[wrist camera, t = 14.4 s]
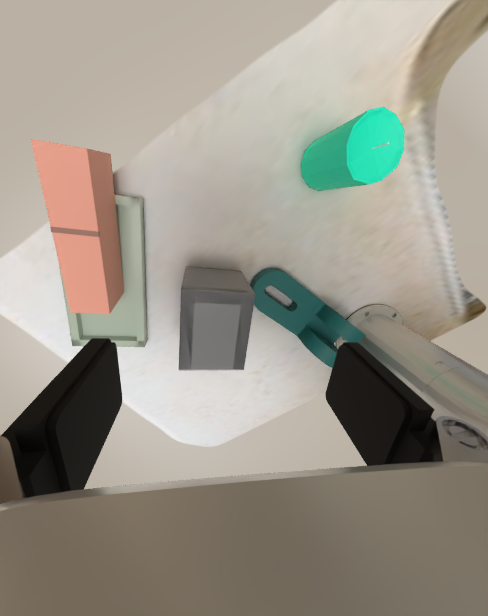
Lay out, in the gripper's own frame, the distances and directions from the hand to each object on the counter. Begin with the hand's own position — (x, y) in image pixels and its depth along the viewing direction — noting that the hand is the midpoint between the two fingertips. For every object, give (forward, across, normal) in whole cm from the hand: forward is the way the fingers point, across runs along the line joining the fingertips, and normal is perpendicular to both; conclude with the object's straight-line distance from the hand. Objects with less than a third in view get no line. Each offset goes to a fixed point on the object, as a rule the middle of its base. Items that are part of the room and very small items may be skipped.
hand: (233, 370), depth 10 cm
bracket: (+27, -14, +7) cm, 31 cm away
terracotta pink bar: (+23, +14, -3) cm, 27 cm away
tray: (+25, +14, +3) cm, 29 cm away
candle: (+26, -13, -13) cm, 32 cm away
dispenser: (+26, 0, +6) cm, 26 cm away
